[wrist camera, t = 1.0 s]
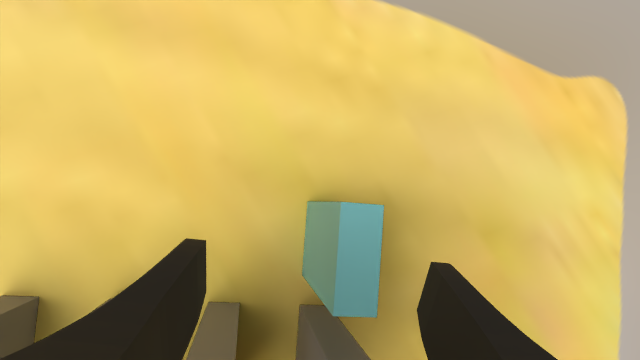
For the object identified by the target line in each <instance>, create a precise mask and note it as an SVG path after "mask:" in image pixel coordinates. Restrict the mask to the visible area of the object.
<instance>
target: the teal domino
mask: <svg viewBox="0 0 640 360" xmlns="http://www.w3.org/2000/svg"><path fill="white" fill-rule="evenodd" d="M383 213H384V205H375V204H362V203H349V202H313V201H308V202H307V216H306V229H305V242H304V255H303V268H302V276H303V277H304V278H305V280H306V281H307V282H308V284H309V285H310V286H311V288H312V289H313V290H314V292H315V293H316V294H317V296H318V297H319V298H320V300H321V301H322V302H323V304H324V305H325V306H326V308H327V309H328V310H329V312H330V313H331V314H332V316H343V317H377V307H378V292H379V276H380V260H381V245H382V229H383Z"/></svg>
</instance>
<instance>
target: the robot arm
mask: <svg viewBox="0 0 640 360" xmlns="http://www.w3.org/2000/svg"><path fill="white" fill-rule="evenodd" d="M205 294H206V240H196V239H185V240H184V241H183V242H181V243H180V244H179V245H178V246H177V247H176V248H175V249H173V250H172V251H171V252H170V253H169V254H168V255H167V256H166V257H164V258H163V259H162V260H161V261H160V262H159V263H158V264H156V265H155V266H154V267H153V268H152V269H150V270H149V271H148V272H147V273H145V274H144V275H143V276H142V277H141V278H139V279H138V280H137V281H136V282H134V283H133V284H132V285H130V286H129V287H128V288H126V289H125V290H124V291H122V292H121V293H120V294H118V295H117V296H115V297H114V298H113V299H111V300H110V301H108V302H107V303H105V304H104V305H102V306H101V307H99V308H98V309H96V310H94V311H93V312H91V313H90V314H88V315H86V316H85V317H83V318H81V319H79V320H78V321H76V322H74V323H72V324H70V325H68V326H67V327H65V328H63V329H61V330H59V331H57V332H55V333H54V334H52V335H50V336H48V337H46V338H44V339H42V340H40V341H38V342H36V343H34V344H32V345H30V346H27V347H25V348H23V349H21V350H19V351H17V352H14V353H12V354H10V355H8V356H5V357H3V358H1V359H0V360H182V359H183V356H184V354H185V352H186V349H187V347H188V344H189V342H190V340H191V337H192V335H193V332H194V330H195V327H196V325H197V322H198V319H199V316H200V312H201V309H202V305H203V302H204V298H205ZM417 313H418V320H419V326H420V331H421V337H422V341H423V344H424V348H425V351H426V354H427V358H428V360H558V359H556V358H555V357H553V356H552V355H551V354H549V353H548V352H547V351H546V350H544V349H543V348H542V347H540V346H539V345H538V344H536V343H535V342H534V341H533V340H531V339H530V338H529V337H528V336H526V335H525V334H524V333H523V332H522V331H520V330H519V329H518V328H517V327H516V326H515V325H514V324H512V323H511V322H510V321H509V320H508V319H507V318H506V317H505V316H503V315H502V314H501V313H500V312H499V311H498V310H497V309H496V308H495V307H494V306H493V305H492V304H491V303H490V302H488V301H487V300H486V299H485V298H484V297H483V296H482V295H481V294H480V293H479V292H478V291H477V290H476V289H475V288H474V287H473V286H472V285H471V284H470V283H469V282H468V281H467V280H466V279H465V278H464V277H463V276H462V275H461V274H460V273H459V272H458V271H457V270H456V269H455V268H454V267H453V266H452V265H451V264H448V263H438V262H431V264H430V268H429V271H428V274H427V278H426V281H425V284H424V288H423V291H422V295H421V298H420V301H419V305H418V308H417Z"/></svg>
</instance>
